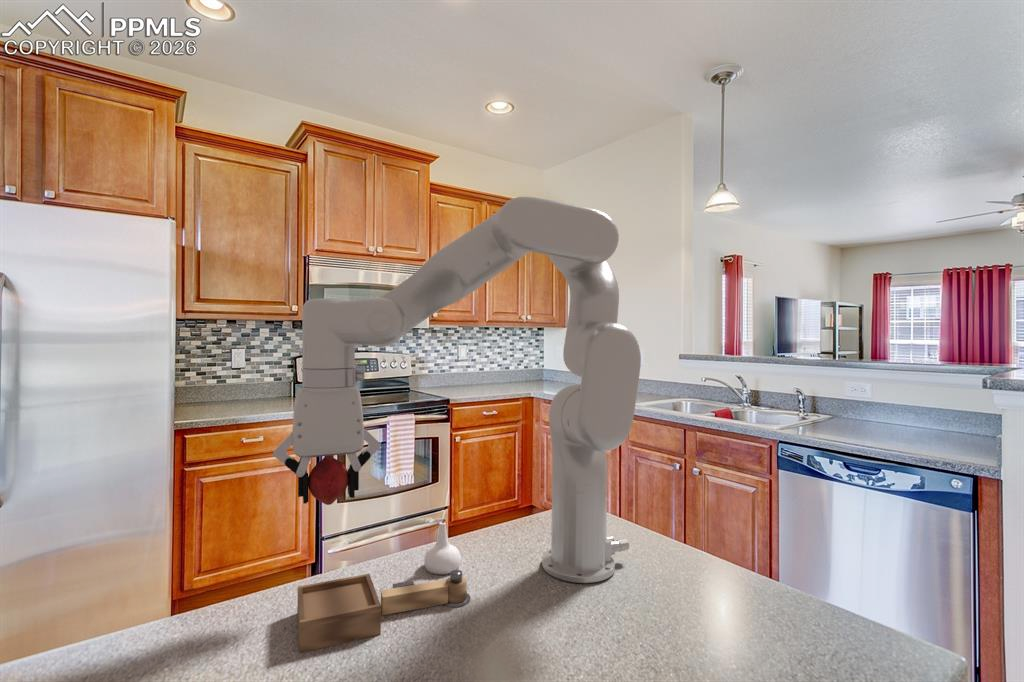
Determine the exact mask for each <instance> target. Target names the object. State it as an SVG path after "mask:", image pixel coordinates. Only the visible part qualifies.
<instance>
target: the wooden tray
mask: <svg viewBox="0 0 1024 682" xmlns="http://www.w3.org/2000/svg"><path fill="white" fill-rule="evenodd" d="M374 585H375V584H374V583H373V580H372V578H371V574H370V573H366V574H361V575H355V576H350V577H349V576H348V577H343V578H342V577H341V578H337V579H332V580H327V581H321V582H316V583H311V584H310V583H309V584H303V585H297V603H296V604H297V606H296V607H297V630H298V632H297V633H298V651H299V654H300V653H305V652H311V651H313V650H318V649H323V648H327V647H331V646H332V647H333V646H335V645H340V644H345V643H347V642H348V643H349V642H353V641H358V640H362V639H365V638H370V637H375V636H378V635H381V634H382V611H381V601H380V599H379V597H378V593H377V591H376V588H375V586H374Z"/></svg>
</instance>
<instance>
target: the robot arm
mask: <svg viewBox="0 0 1024 682" xmlns="http://www.w3.org/2000/svg"><path fill="white" fill-rule="evenodd" d="M619 236H620V235H619V230H618V227H617V225H616V223H615V222H614V220H613V219H612V218H611V216H609V215H608V214H606V213H605V212H603V211H600V210H597V209H595V208H590V207H585V206H580V205H575V204H569V203H565V202H561V201H556V200H550V199H547V198H546V199H545V198H540V197H533V196H517V197H514V198H512V199H509V200H508V201H506V202H505V203H504V204H503V206H501V207H500V208H499V209H498V210H497V211H496V212H495V213H493V214H492V215H491V216H490V217H488V218H486V219H484V220H483V221H482V222H480V223H479V224H477V225H476V226H475V227H473V228H471V229H470V230H469V231H467V232H466V233H464V234H463V235H461V236H459V237H458V238H456V239H455V240H453V241H452V242H450V243H448V244H447V245H445V246H444V247H441V249H439V250H438V251H437V252H435V253H434V254H433V255H432V256H431V257H429V258H428V259H427V260H426V262H425V263H424V264H423V265H422V266H421V267H420V268H418V269H417V270H416V271H415V272H414V273H413V274H412V275H410V276H409V277H408V278H407V279H405V280H404V281H402V282H401V283H399V284H398V285H397V286H395V287H394V288H392V289H391V290H389V291H388V292H386V293H384V294H383V295H382V296H380V297H374V298H373V297H372V298H363V299H352V300H347V299H343V298H328V297H327V298H325V297H322V298H309V299H308V300H306V301H305V302H304V304H303V305H302V314H301V316H302V319H301V320H302V322H301V323H302V325H301V330H302V332H301V333H302V336H301V338H302V341H301V343H302V344H301V345H302V346H301V347H302V356H301V357H302V360H301V361H302V362H301V363H302V367H301V370H302V371H301V373H302V374H301V375H302V376H301V379H302V382H301V383H302V384H301V385H302V386H301V387H302V388H299V389H296V392H295V396H294V397H295V398H294V403H293V404H294V405H293V413H292V414H293V417H292V431H291V432H290V434H288V435H287V437H286V438H284V440H282V442H281V443H280V444H279V445H278V446H277V447H276V448H275V449H273V452H272V455H273V457H274V458H276V459H277V461H279V462H281V463H282V464H283V465H284V466H286V468H288V469H289V470H290V471H292V472H293V473H294V474H295V475H296V477H297V482H298V483H297V497H298V498H302V503H303V505H305V504H308V503H309V496H310V495H309V492H310V490H309V472H308V466H309V464H310V463H311V459H312V458H317V457H320V458H321V457H325V456H332V455H334V456H341V455H346V457H347V458H348V460H349V461H348V462H349V463H350V464H349V467H348V468H347V471H348V474H349V482H348V486H347V493H348V497H349V498H350V499H354V498H355V494H356V492H355V491H359V488H360V487H359V486H360V478H359V477H360V476H359V475H360V474H359V472H360V471H361V469H362V467H363V466H364V465H366V463H367V462H368V461H369V460H370V459H371V457H372V456H373V455H374V454H375V453H376V452H377V451H378V450H379V449H380V448H381V442H380V441H379V440H377V439H376V437H374V436H373V434H371V433H370V432H369V431H368V430H367V429H366V428H365V427H364V426H365V425H364V413H363V405H362V396H361V393H360V387H356V383H358V382H360V381H364V380H365V371H360V370H357V369H356V367H355V366H356V360H355V359H356V355H355V354H356V352H355V351H356V345H361V346H368V347H376V348H386V347H390V346H392V345H394V344H396V343H397V342H399V340H400V339H401V338H402V337H403V336H404V335H406V334H407V333H408V332H410V330H411V331H412V329H414V328H415V327H416V326H418V325H419V324H422V322H424V321H425V320H427V319H428V318H430V317H432V316H433V315H435V314H436V313H437V312H439V311H442V309H445V308H446V307H448V306H450V305H453V304H455V303H456V302H459V301H460V300H463V299H464V298H466V297H467V296H469V295H470V294H472V293H473V292H476V290H478V289H479V288H480V287H481V286H483V285H485V284H486V283H487V282H489V281H490V280H492V279H493V278H494V277H496V276H498V275H499V274H500V273H502V272H503V271H505V270H506V269H508V268H509V267H510V266H512V265H514V264H515V263H516V262H518V261H519V260H521V259H523V258H524V257H525V256H526V255H528V254H530V253H531V252H532V253H537V254H541V255H546V256H548V259H549V261H550V263H552V264H553V266H554V267H555V268H556V269H558V271H559V272H560V274H561V275H562V276H563V277H564V278H565V280H566V282H567V283H566V284H567V285H568V287H569V297H570V298H569V310H568V311H569V312H568V318H567V324H566V332H565V338H564V345H563V353H562V354H563V355H562V356H563V357H562V358H563V361H564V365H565V367H566V368H567V370H568V371H570V372H571V373H572V374H573V375H575V376H578V377H580V378H581V381H580V384H572V385H568V386H566V387H564V388H562V389H560V390H559V391H558V392H557V393H556V394H555V395H554V397H553V398H552V401H551V403H550V406H549V410H548V425H549V434H550V441H551V442H550V443H551V463H552V464H551V466H552V469H551V471H552V472H551V473H552V475H551V529H550V530H551V539H550V540H551V541H550V542H551V543H550V544H551V545H550V546H551V547H550V548H551V549H549V550H548V551H546V552H545V553H544V554H543V555H542V557H541V559H542V560H541V565H542V568H543V570H544V571H545V572H546V573H547V574H549V575H550V576H552V577H554V578H556V579H558V580H562V581H563V582H564V581H565V582H569V583H577V584H591V583H598V582H602V581H605V580H607V579H609V578H611V577H612V576H613V575H614V573H615V572H616V562H615V559H614V558H613V557H612V556H613V555H615V554H616V552H625V551H628V550H629V549H630V543H629V540H628V539H626V538H621V539H617V540H615V538H614V537H613V536H607V509H608V507H607V506H608V505H607V503H608V501H607V500H608V498H607V497H608V495H607V494H608V493H607V492H608V460H607V459H608V458H607V452H609V451H610V452H611V451H613V450H615V449H618V448H619V447H620V446H621V445H622V444H623V443H624V442H626V439H627V438H628V436H629V434H630V432H631V429H632V426H633V423H634V422H633V421H634V415H635V410H636V403H637V396H638V389H639V381H640V380H639V379H640V375H641V374H640V373H641V365H642V363H641V362H642V358H641V354H642V353H641V348H640V346H639V343H638V340H637V338H636V336H635V335H634V333H633V332H632V331H631V330H630V329H628V328H627V327H626V326H624V325H621V324H619V323H618V320H619V319H618V316H619V307H620V306H619V305H620V303H619V302H620V290H619V284H618V281H617V277H616V275H615V273H614V271H613V269H612V267H611V266H610V264H609V262H608V261H607V260H608V259H610V258H611V257H612V256H613V254H614V253H615V252H616V250H617V248H618V246H619V245H618V244H619V240H620V239H619V238H620V237H619ZM365 442H366V443H367V445H368V446H367V447H366V448H365V449H364V445H365ZM291 447H292V450H293V453H294V455H295V456H297V457H298V458H299V460H298V461H297V459H295V458H294V457H293V456H291V455H289V453H287V451H288V450H289V449H290V448H291ZM363 449H364V450H363ZM361 450H363V451H362V452H361V453H359V455H358V456H357V454H356V453H358V452H360V451H361Z"/></svg>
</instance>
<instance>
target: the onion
mask: <svg viewBox="0 0 1024 682" xmlns="http://www.w3.org/2000/svg"><path fill="white" fill-rule="evenodd" d="M334 456H335V455H332V456H323V458H322V459H321V460H320V461H318V462H317V463H316V464H315V465H314V466H313V468H312V469H311V471H310V472H309V474H308V477H309V492H310V494H311V496H312V497H314V499H316V500H317V501H319V502H320V503H323V504H325V505H328V506H329V505H332V504H334V503H335V502H336V500H337V499H338V498H340V497H341V496H342V495H343V494H344V493H345V491H346V490H347V489H348V482H349V474H348V468H346V466H345V465H344V464H343V463H342V462H341V461H340V460H338V459H336V458H335V457H334Z"/></svg>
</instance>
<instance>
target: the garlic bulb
mask: <svg viewBox="0 0 1024 682" xmlns="http://www.w3.org/2000/svg"><path fill="white" fill-rule="evenodd" d="M438 524H439V526H438V533H437V537H436V542H435V544H434V545H433V546H430V548H429V549H428V550H427V551H426V553H425V556H424V567H425V569H426V570H427V572H429V573H431V574H433V573H434V574H433V575H449V574H450V572H451V571H453V570H459V568H460V565H461V564H462V563H461V562H462V556H461V552H460V551H459V549H458V548H457V547H456V546H455V545H454V544H451V543H450V542H449V537H448V531H447V527H446V526H447V525H446V524H447V523H446V522H438ZM448 573H449V574H448Z"/></svg>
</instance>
